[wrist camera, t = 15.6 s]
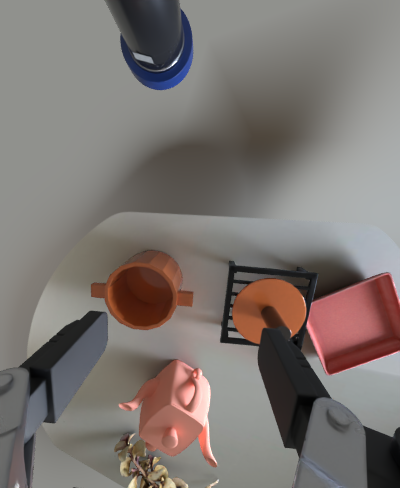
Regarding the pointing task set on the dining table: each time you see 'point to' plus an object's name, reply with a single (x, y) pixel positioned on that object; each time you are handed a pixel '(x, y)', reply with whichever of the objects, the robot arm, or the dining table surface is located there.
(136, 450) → the artificial flower
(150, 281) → the pot
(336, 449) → the robot arm
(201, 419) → the teapot
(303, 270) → the rack
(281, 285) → the lid
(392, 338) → the plant saucer
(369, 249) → the dining table surface
